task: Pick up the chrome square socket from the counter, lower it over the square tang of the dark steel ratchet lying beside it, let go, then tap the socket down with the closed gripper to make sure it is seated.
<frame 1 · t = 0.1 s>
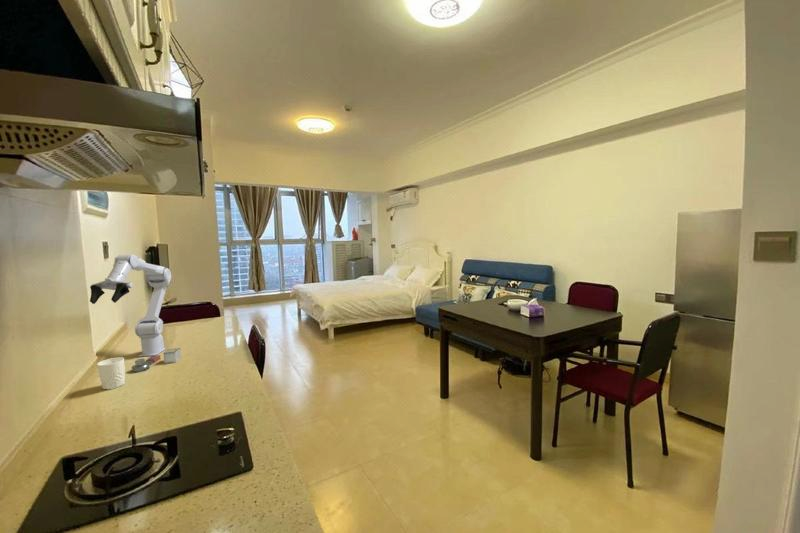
hand: (102, 301, 131), 32 cm above the countertop, tool tilted 50°, fingers open, 7 cm apart
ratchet: (140, 369, 142), on the countertop
socket: (173, 360, 152), on the countertop
white cup: (114, 386, 128), on the countertop
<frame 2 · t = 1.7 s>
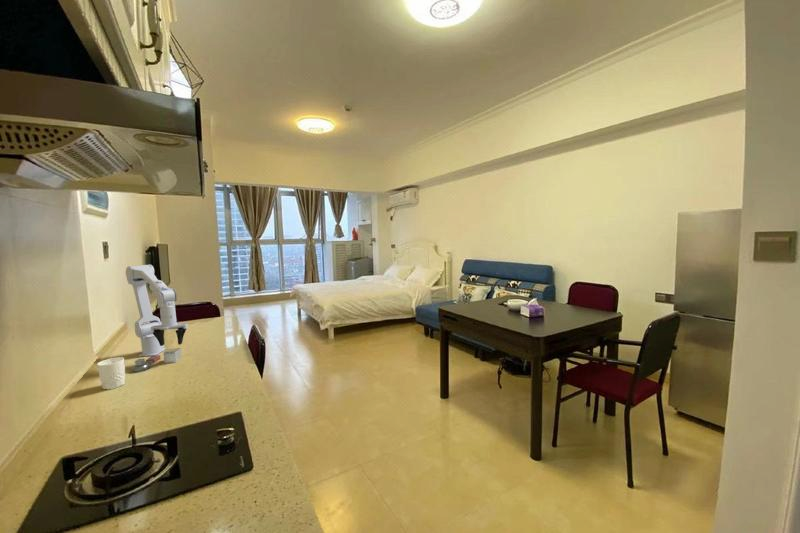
hand: (171, 344, 151), 8 cm above the countertop, tool pointing down, fingers open, 7 cm apart
nothing on the countertop moved.
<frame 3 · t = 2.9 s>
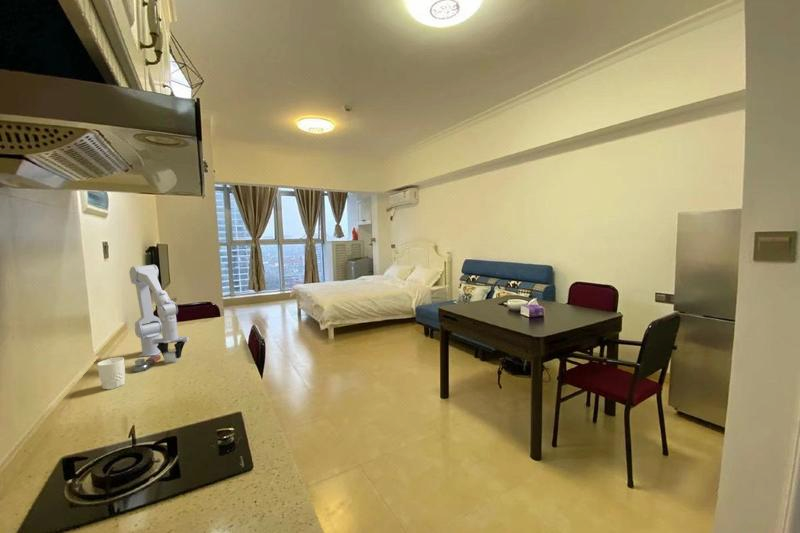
hand: (172, 357, 151), 1 cm above the countertop, tool pointing down, fingers closed on socket, 5 cm apart
socket: (173, 360, 152), on the countertop, touching gripper
everything else where it was.
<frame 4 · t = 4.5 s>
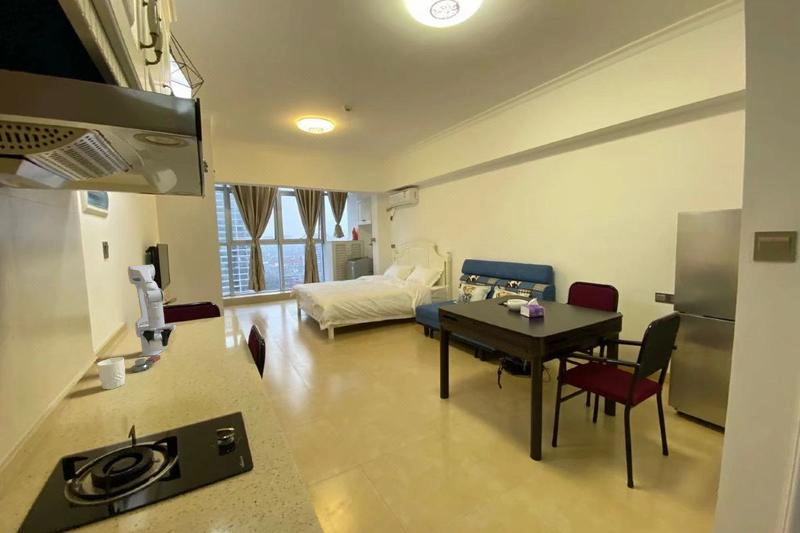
hand: (159, 346, 147), 8 cm above the countertop, tool pointing down, fingers closed on socket, 5 cm apart
socket: (159, 349, 147), point 7 cm above the countertop, touching gripper
everything else where it was.
when the fingers open (4 cm above the countertop, at t = 6.5 s): socket stays where it is, resting on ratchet.
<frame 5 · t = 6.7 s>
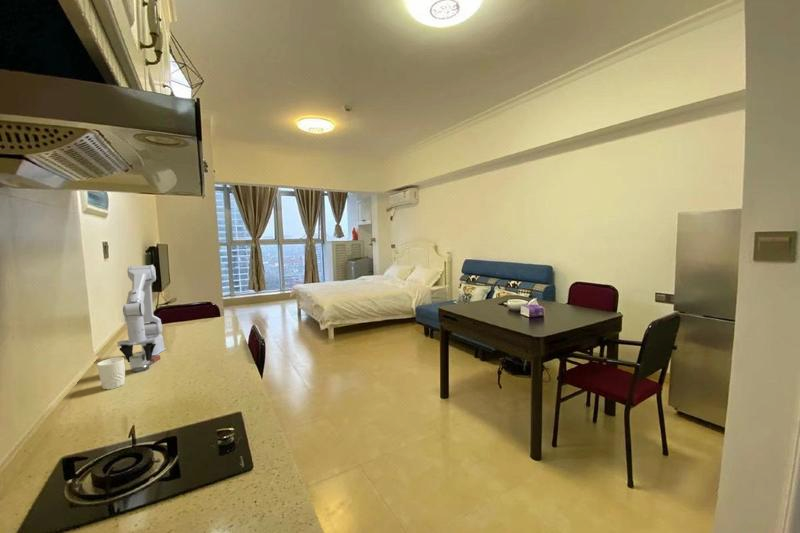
hand: (139, 360, 142), 4 cm above the countertop, tool pointing down, fingers open, 7 cm apart
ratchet: (140, 369, 142), on the countertop, touching socket
socket: (140, 365, 142), point 2 cm above the countertop, touching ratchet
everything else where it was.
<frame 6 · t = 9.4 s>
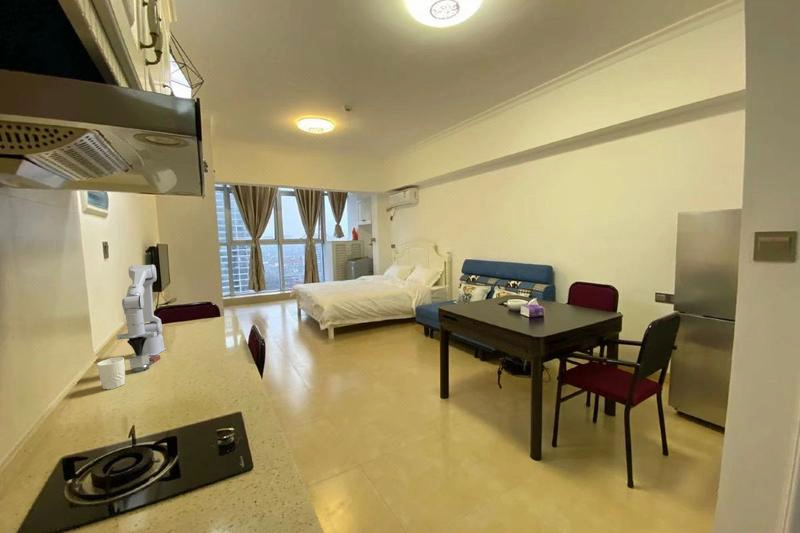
hand: (139, 354, 142), 7 cm above the countertop, tool pointing down, fingers closed
nothing on the countertop moved.
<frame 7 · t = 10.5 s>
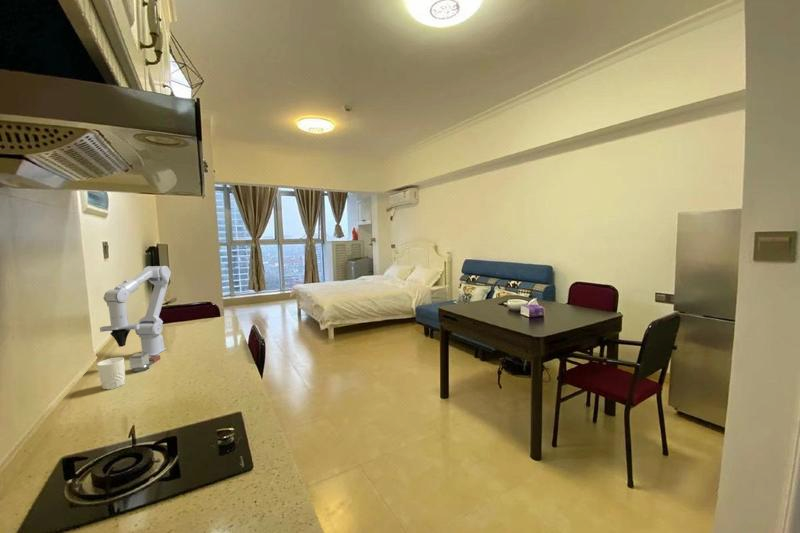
hand: (122, 345, 146), 9 cm above the countertop, tool pointing down, fingers closed
nothing on the countertop moved.
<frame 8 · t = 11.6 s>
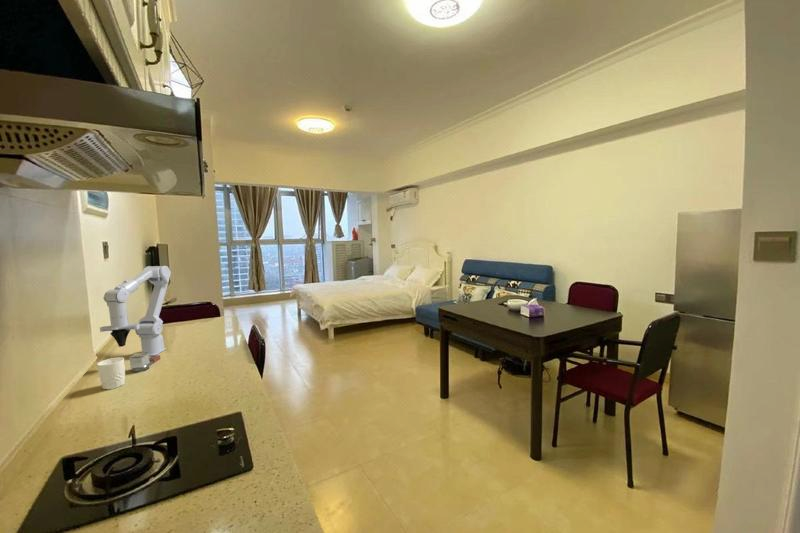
hand: (122, 345, 146), 9 cm above the countertop, tool pointing down, fingers closed
nothing on the countertop moved.
at the end: socket 0.2 cm off-centre on the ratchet, point 2.0 cm above the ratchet's base; socket tilted 0°; the gripper is holding nothing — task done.
